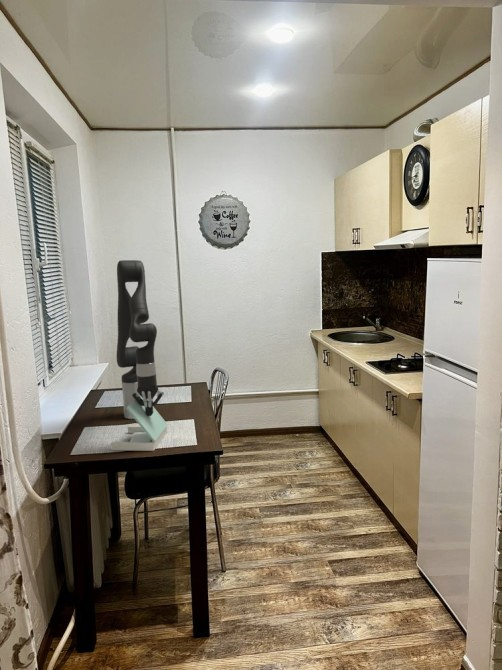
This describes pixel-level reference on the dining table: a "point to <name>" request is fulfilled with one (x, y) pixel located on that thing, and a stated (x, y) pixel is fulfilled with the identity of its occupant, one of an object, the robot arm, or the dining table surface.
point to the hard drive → (140, 437)
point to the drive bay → (138, 445)
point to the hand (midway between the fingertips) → (149, 415)
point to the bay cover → (147, 420)
